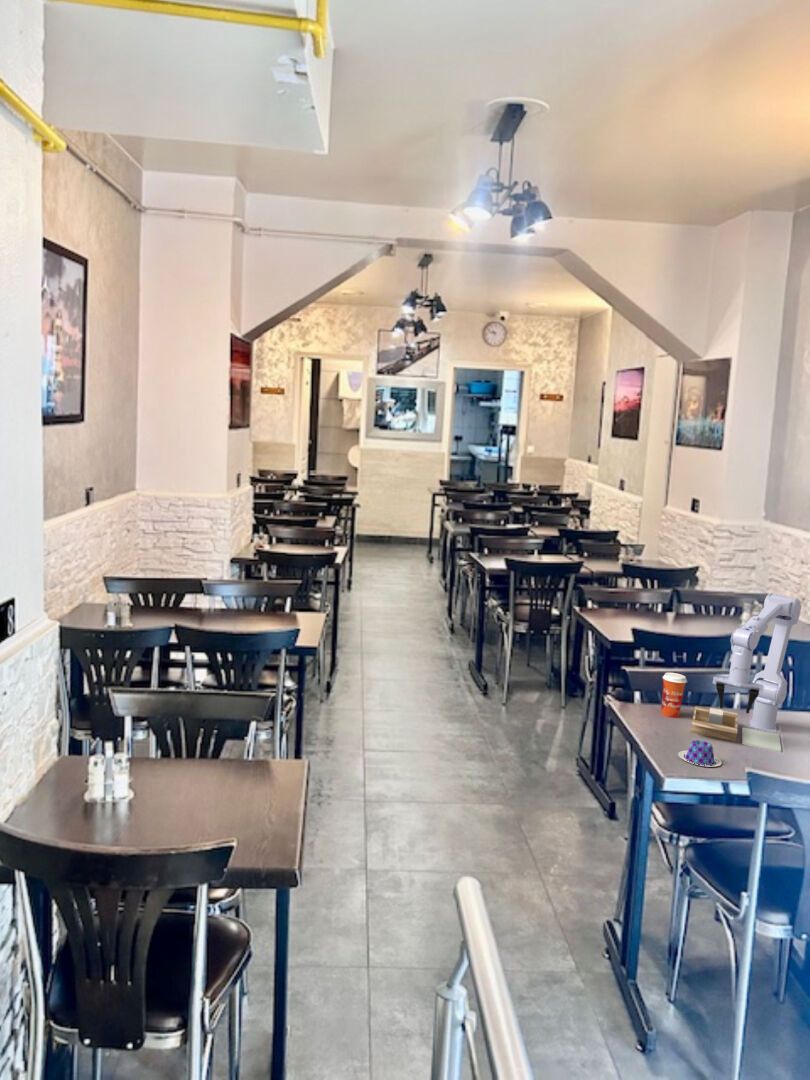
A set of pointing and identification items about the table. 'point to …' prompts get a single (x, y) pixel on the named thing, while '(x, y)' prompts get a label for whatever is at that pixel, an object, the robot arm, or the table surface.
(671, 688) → the paper cup
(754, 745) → the board
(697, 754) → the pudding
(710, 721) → the block
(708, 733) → the light wood shallow tray
